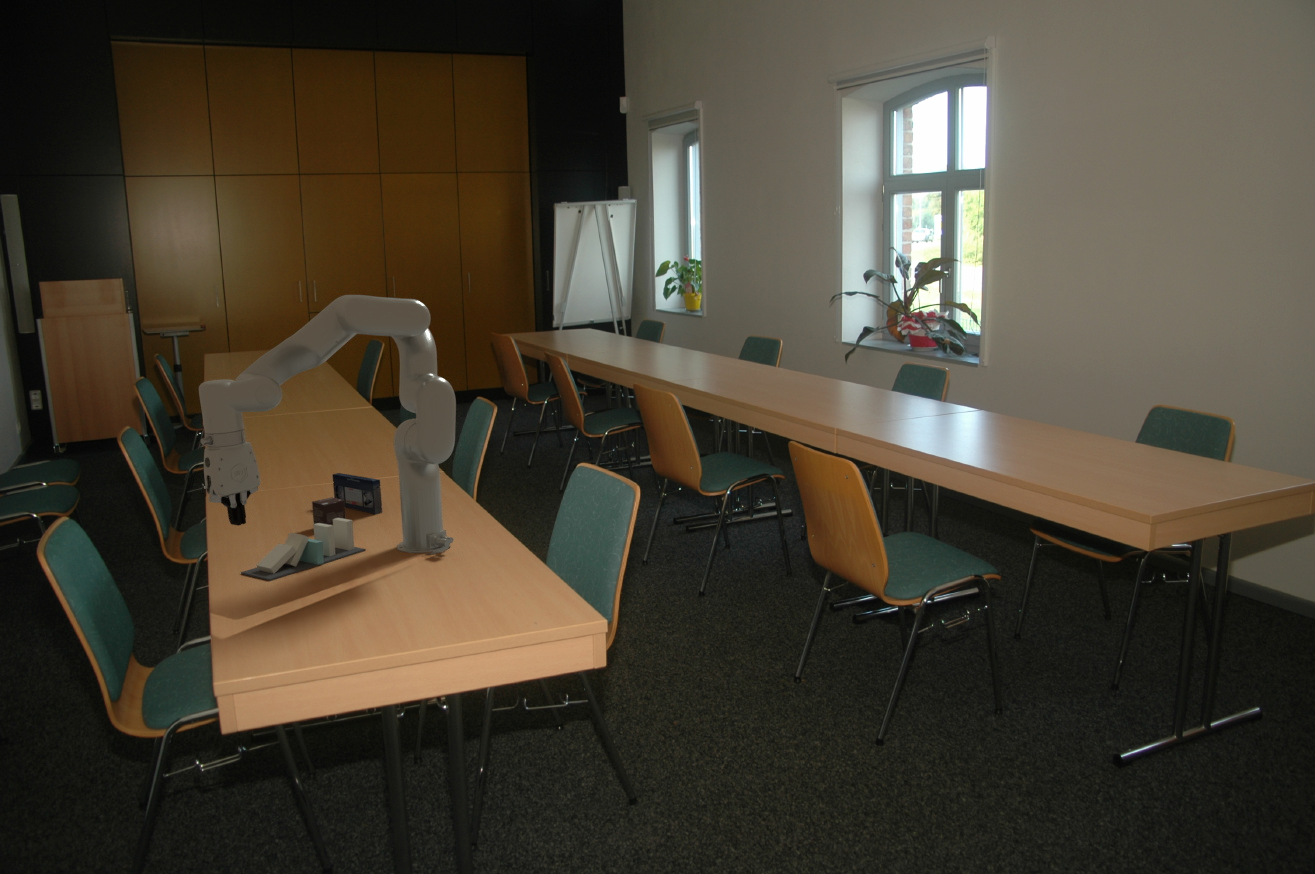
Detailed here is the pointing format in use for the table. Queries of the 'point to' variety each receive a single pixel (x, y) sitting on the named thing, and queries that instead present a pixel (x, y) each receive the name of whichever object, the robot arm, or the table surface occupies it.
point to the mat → (299, 565)
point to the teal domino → (313, 552)
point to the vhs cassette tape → (358, 492)
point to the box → (328, 510)
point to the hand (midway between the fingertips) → (238, 523)
